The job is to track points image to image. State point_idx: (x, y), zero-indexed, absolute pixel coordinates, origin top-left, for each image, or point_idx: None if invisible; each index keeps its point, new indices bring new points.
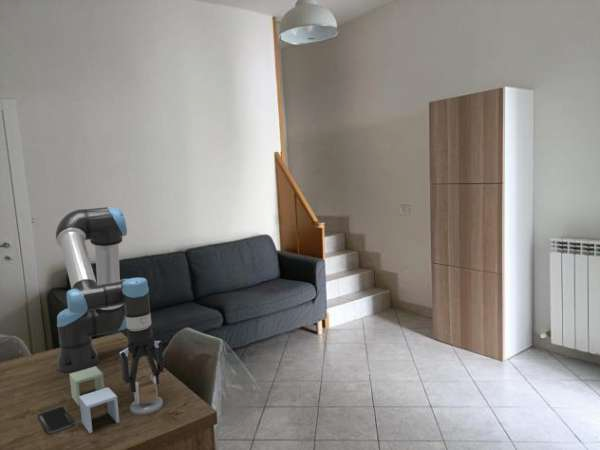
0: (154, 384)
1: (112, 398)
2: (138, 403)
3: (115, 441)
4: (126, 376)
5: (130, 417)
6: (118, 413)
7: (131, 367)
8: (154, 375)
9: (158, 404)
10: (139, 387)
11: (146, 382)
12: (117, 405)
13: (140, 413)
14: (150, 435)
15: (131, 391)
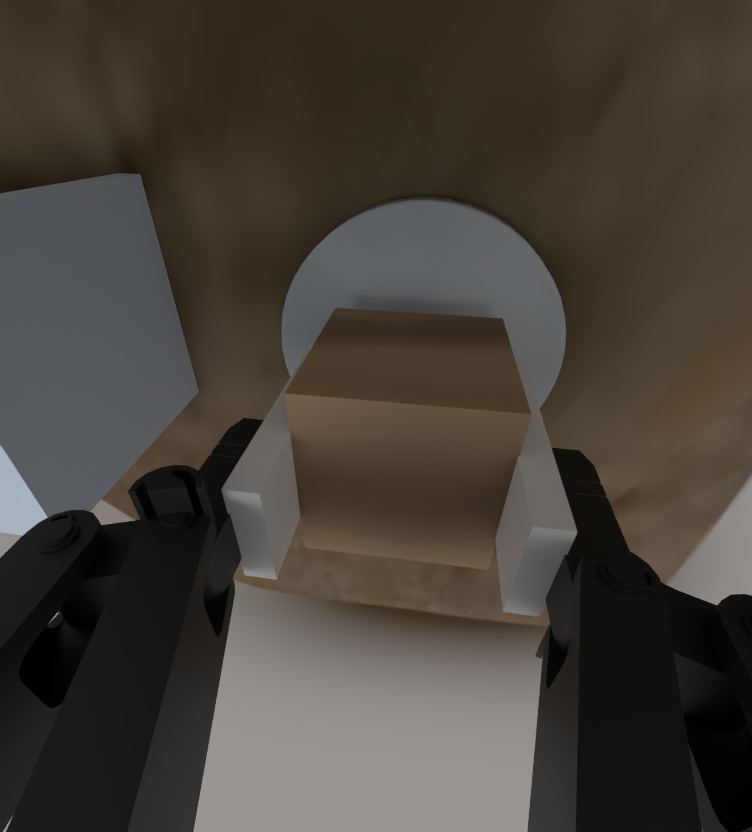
0: (473, 567)
1: (28, 529)
2: (362, 303)
3: None
4: (39, 694)
5: (270, 389)
6: (163, 428)
7: (41, 819)
8: (548, 595)
9: None
10: (310, 516)
11: (436, 468)
12: (121, 472)
13: None
14: (310, 584)
15: (244, 424)
